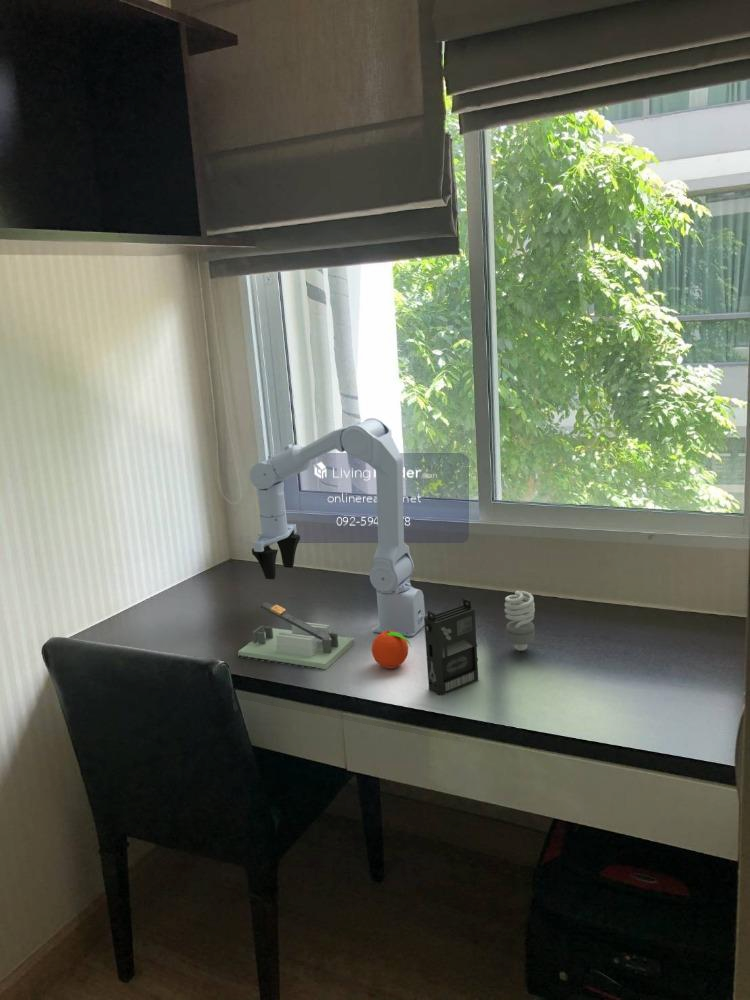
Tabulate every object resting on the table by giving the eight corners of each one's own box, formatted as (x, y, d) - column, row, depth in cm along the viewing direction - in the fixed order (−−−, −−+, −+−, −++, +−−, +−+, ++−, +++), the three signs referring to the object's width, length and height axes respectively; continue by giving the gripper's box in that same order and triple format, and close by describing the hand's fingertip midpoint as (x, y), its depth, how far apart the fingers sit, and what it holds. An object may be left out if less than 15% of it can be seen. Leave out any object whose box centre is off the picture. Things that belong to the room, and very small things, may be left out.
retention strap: (333, 640, 159) (335, 635, 159) (328, 645, 157) (330, 640, 157) (265, 604, 164) (267, 599, 164) (259, 608, 162) (261, 603, 162)
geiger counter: (467, 669, 148) (463, 593, 145) (483, 678, 145) (479, 600, 141) (422, 687, 143) (416, 609, 139) (438, 697, 139) (432, 616, 135)
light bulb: (533, 658, 151) (531, 598, 148) (503, 656, 153) (501, 596, 150) (538, 645, 156) (536, 587, 153) (509, 643, 158) (507, 586, 155)
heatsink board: (354, 643, 163) (352, 622, 162) (325, 669, 153) (323, 647, 152) (271, 633, 172) (268, 612, 171) (238, 656, 161) (236, 635, 160)
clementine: (420, 661, 153) (418, 626, 151) (405, 677, 147) (403, 641, 145) (382, 656, 157) (379, 622, 155) (366, 671, 151) (363, 636, 149)
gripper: (275, 504, 184) (281, 561, 187) (238, 522, 171) (246, 582, 174) (301, 505, 180) (307, 563, 184) (266, 524, 168) (273, 585, 171)
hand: (279, 572), depth 179 cm, fingers open, 7 cm apart
